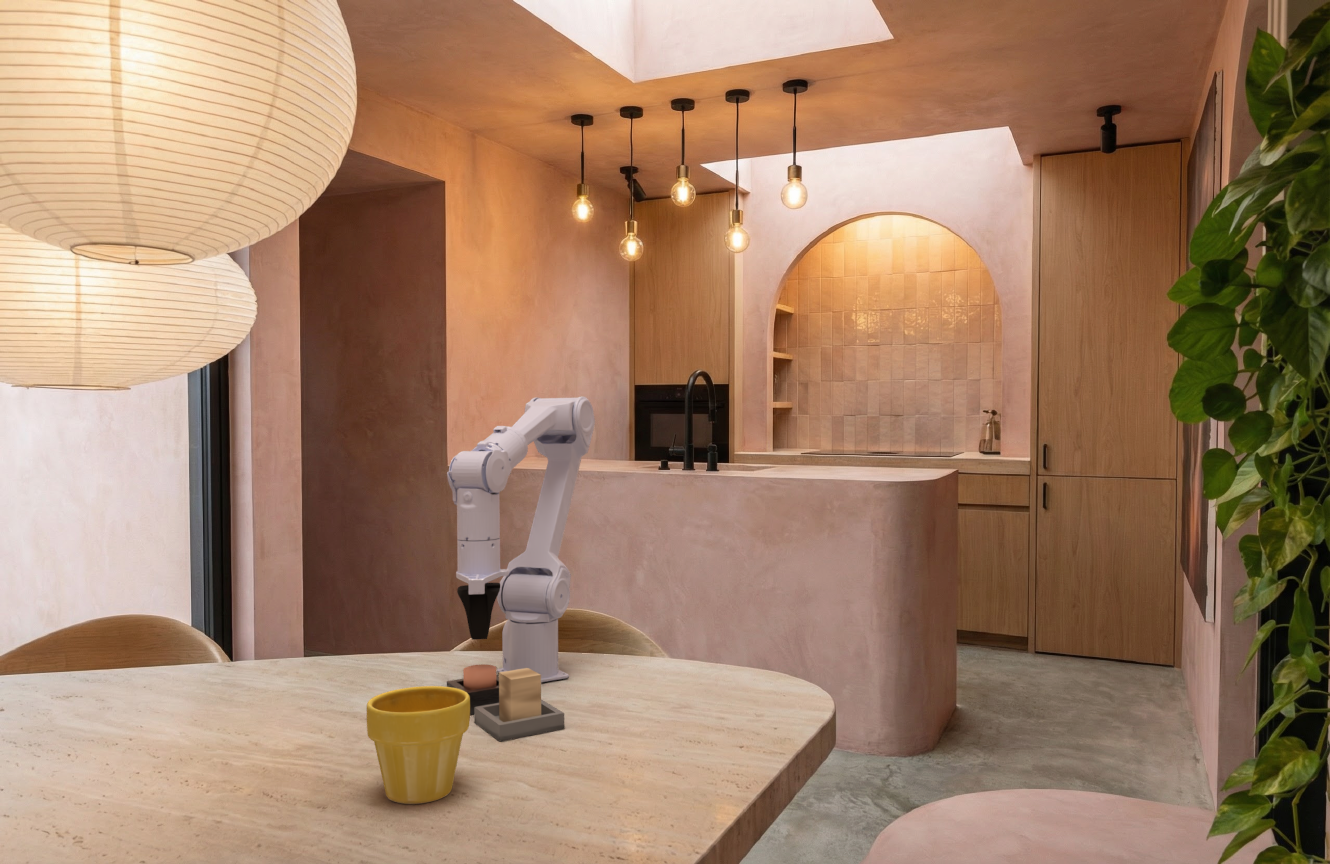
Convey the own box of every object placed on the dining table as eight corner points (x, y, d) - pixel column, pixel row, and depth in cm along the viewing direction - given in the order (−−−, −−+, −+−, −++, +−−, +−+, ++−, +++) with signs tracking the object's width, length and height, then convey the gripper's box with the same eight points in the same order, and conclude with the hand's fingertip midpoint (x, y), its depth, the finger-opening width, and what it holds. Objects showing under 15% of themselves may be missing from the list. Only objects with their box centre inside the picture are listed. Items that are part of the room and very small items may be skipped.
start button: (459, 689, 126) (458, 667, 126) (489, 684, 128) (489, 662, 128) (470, 696, 122) (470, 674, 122) (501, 691, 125) (501, 669, 125)
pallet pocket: (474, 722, 118) (474, 706, 118) (536, 711, 122) (536, 696, 122) (499, 741, 111) (499, 725, 111) (564, 728, 115) (564, 712, 115)
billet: (499, 719, 117) (499, 672, 117) (528, 713, 119) (527, 667, 119) (511, 727, 114) (511, 679, 114) (541, 721, 116) (540, 674, 116)
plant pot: (430, 765, 103) (429, 678, 103) (491, 788, 96) (490, 695, 96) (347, 794, 95) (346, 700, 95) (406, 821, 88) (405, 720, 88)
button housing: (446, 702, 126) (446, 681, 126) (494, 694, 130) (494, 673, 130) (464, 716, 120) (464, 693, 120) (514, 707, 124) (514, 685, 124)
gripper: (507, 544, 119) (508, 649, 119) (509, 531, 133) (509, 625, 133) (451, 545, 118) (452, 651, 118) (459, 533, 132) (460, 627, 132)
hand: (479, 638), depth 125 cm, fingers closed
